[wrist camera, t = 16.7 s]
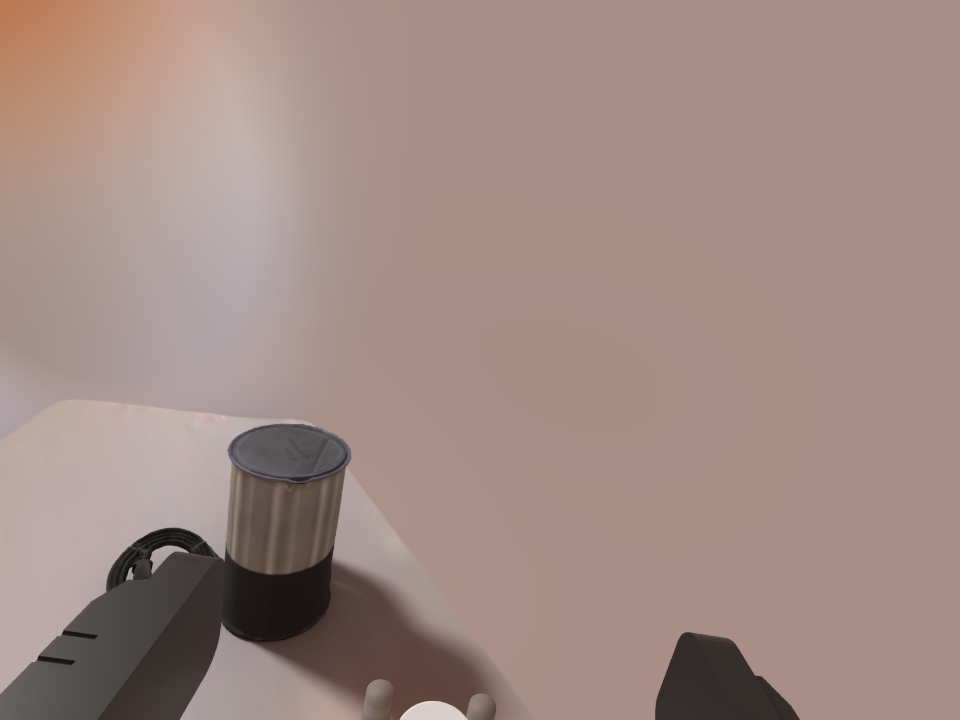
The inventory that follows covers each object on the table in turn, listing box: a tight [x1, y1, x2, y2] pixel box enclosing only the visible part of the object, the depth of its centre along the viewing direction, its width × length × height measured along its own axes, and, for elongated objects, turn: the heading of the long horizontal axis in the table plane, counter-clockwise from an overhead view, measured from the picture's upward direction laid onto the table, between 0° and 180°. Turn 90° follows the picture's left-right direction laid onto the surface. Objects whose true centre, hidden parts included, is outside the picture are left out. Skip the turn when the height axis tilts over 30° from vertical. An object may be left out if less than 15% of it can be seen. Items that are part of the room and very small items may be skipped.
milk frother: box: [106, 424, 351, 641], centre depth 42 cm, size 14×16×15 cm
